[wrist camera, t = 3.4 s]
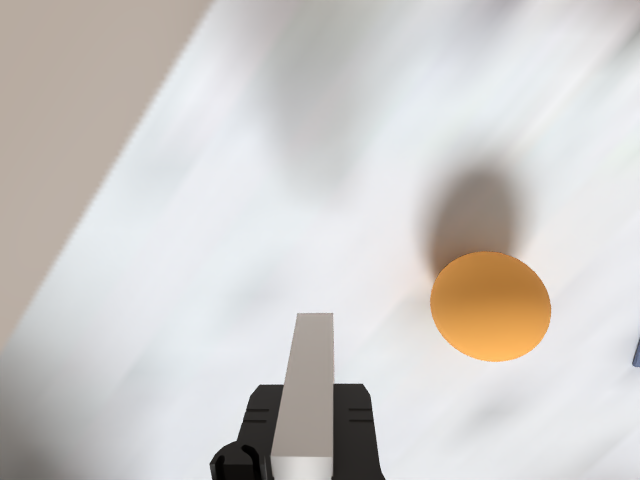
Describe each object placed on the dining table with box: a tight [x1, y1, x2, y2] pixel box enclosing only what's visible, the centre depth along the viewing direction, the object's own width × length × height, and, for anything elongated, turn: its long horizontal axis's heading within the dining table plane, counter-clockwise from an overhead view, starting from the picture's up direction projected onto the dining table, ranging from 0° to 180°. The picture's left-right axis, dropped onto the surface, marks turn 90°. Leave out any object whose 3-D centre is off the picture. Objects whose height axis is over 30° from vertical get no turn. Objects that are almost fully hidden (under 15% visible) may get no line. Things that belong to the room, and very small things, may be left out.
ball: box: [430, 251, 551, 362], centre depth 18 cm, size 6×6×6 cm
